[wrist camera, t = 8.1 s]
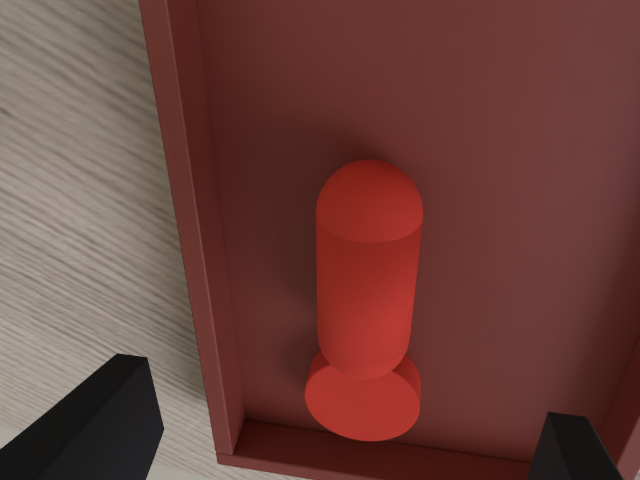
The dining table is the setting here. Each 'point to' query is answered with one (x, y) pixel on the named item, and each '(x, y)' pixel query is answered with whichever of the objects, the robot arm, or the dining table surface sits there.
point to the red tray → (438, 216)
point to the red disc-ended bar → (366, 302)
